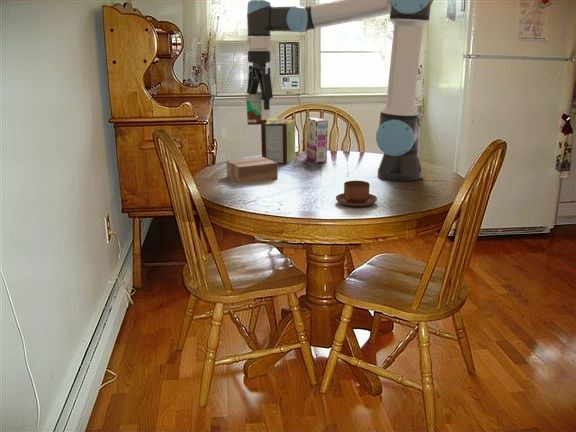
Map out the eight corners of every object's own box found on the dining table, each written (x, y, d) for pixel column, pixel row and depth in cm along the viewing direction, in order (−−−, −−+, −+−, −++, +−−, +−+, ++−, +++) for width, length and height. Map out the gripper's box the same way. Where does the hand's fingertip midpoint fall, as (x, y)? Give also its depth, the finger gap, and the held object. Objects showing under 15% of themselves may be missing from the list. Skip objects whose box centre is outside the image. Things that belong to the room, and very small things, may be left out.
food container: (263, 126, 188) (263, 95, 185) (246, 125, 190) (245, 94, 187) (274, 121, 200) (274, 91, 197) (257, 120, 201) (257, 91, 198)
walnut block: (277, 180, 198) (277, 163, 196) (239, 184, 192) (239, 167, 190) (263, 173, 208) (263, 156, 207) (227, 177, 202) (226, 160, 201)
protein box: (295, 156, 236) (295, 118, 232) (287, 164, 222) (287, 123, 217) (270, 155, 238) (270, 117, 234) (261, 163, 224) (260, 123, 219)
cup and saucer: (374, 211, 161) (374, 189, 159) (332, 208, 164) (332, 187, 162) (379, 199, 172) (380, 180, 170) (339, 197, 175) (340, 177, 174)
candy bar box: (327, 162, 224) (328, 120, 219) (315, 163, 222) (315, 120, 218) (317, 157, 234) (318, 116, 229) (306, 158, 233) (306, 117, 228)
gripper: (237, 49, 198) (238, 113, 204) (260, 51, 177) (261, 122, 184) (257, 49, 201) (257, 112, 207) (283, 51, 180) (282, 121, 187)
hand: (259, 117), depth 196 cm, fingers closed on food container, 11 cm apart
